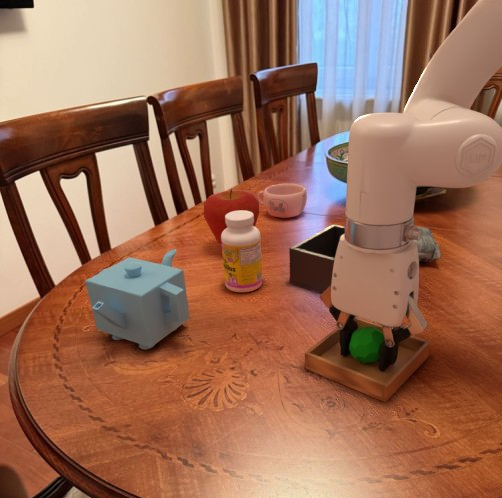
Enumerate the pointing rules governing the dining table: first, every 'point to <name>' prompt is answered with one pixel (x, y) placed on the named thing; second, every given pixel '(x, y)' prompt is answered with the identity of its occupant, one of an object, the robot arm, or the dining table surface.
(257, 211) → the apple
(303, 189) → the mug
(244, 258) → the supplement bottle
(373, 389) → the tray
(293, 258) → the dark brown open box
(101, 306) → the teapot
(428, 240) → the packaged food
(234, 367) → the dining table surface
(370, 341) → the polyhedron
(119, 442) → the dining table surface
